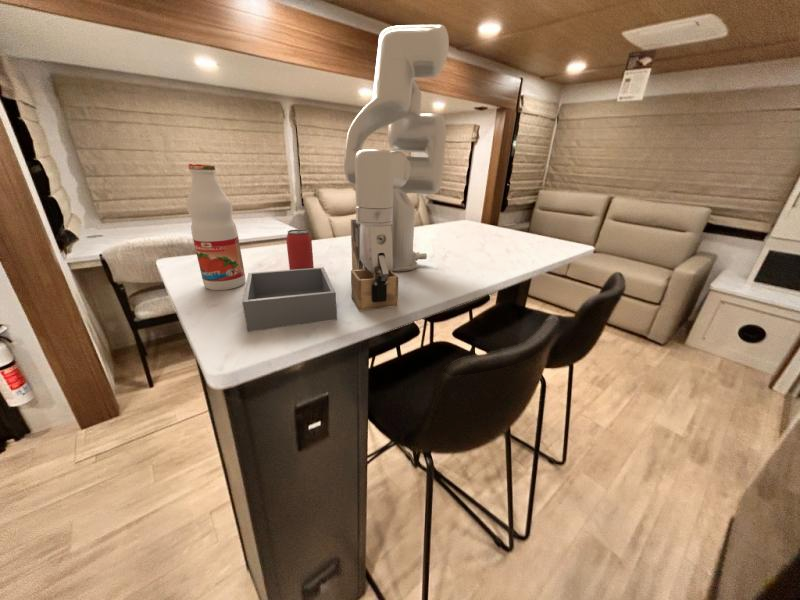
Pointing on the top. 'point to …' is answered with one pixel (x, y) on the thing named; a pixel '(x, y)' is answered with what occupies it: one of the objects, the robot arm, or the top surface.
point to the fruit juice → (214, 231)
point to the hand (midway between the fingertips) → (374, 294)
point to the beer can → (299, 249)
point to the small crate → (363, 290)
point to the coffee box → (355, 246)
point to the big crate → (288, 298)
